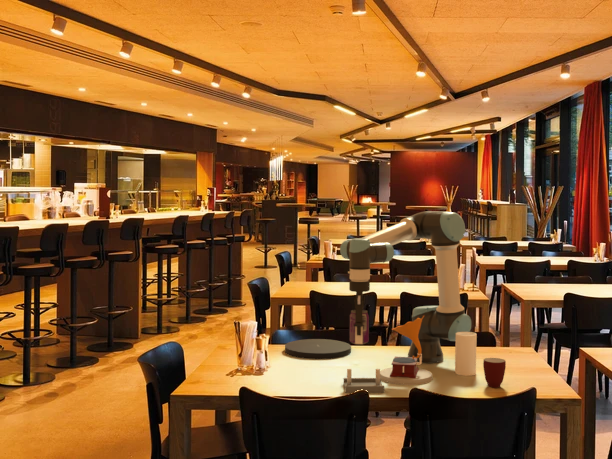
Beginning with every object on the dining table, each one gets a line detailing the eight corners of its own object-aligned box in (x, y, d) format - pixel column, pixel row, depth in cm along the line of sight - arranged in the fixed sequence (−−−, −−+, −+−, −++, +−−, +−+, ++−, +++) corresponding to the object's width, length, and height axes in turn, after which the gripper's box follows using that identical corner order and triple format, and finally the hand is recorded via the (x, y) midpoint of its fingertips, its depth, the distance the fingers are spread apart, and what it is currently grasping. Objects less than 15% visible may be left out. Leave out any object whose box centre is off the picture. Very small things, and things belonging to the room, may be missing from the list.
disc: (363, 350, 350) (363, 343, 350) (329, 362, 325) (329, 355, 325) (307, 342, 366) (307, 336, 366) (271, 354, 341) (271, 347, 341)
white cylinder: (477, 371, 309) (477, 332, 308) (474, 376, 301) (475, 336, 300) (456, 369, 312) (457, 331, 311) (453, 374, 304) (454, 334, 303)
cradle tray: (380, 384, 289) (380, 365, 289) (384, 392, 278) (384, 373, 277) (343, 384, 289) (343, 365, 289) (345, 392, 277) (345, 373, 277)
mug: (476, 382, 292) (476, 356, 291) (495, 381, 294) (496, 355, 293) (489, 389, 282) (489, 363, 281) (509, 388, 283) (509, 362, 283)
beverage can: (370, 341, 287) (370, 310, 286) (366, 345, 280) (366, 313, 279) (352, 340, 289) (352, 309, 288) (347, 344, 282) (347, 312, 281)
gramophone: (433, 373, 307) (434, 311, 305) (430, 386, 287) (431, 320, 285) (383, 370, 311) (383, 309, 310) (376, 383, 292) (376, 318, 290)
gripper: (350, 276, 293) (350, 336, 295) (348, 283, 273) (347, 347, 275) (370, 277, 292) (369, 336, 294) (369, 283, 273) (368, 347, 274)
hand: (359, 341), depth 284 cm, fingers closed on beverage can, 7 cm apart
